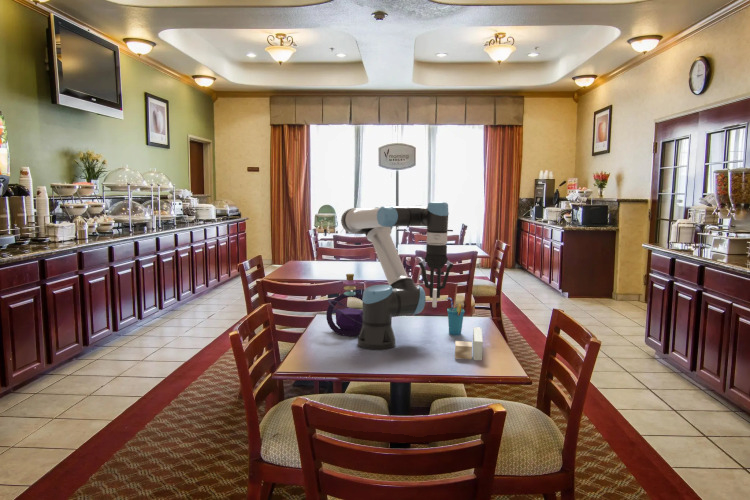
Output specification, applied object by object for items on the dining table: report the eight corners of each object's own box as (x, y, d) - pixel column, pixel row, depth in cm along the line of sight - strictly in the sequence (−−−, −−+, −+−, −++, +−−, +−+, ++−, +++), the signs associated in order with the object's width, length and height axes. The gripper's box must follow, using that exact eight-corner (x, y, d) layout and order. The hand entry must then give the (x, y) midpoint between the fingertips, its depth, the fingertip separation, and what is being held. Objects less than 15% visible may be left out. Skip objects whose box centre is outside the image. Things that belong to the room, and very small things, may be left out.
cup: (438, 329, 226) (439, 296, 224) (453, 328, 229) (454, 295, 227) (454, 338, 213) (455, 303, 212) (470, 336, 216) (471, 302, 214)
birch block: (454, 358, 188) (455, 345, 187) (455, 353, 194) (455, 340, 193) (471, 359, 187) (472, 346, 186) (471, 354, 193) (471, 341, 192)
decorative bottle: (316, 334, 216) (316, 275, 213) (335, 322, 236) (335, 269, 233) (365, 339, 209) (366, 279, 206) (381, 327, 229) (382, 272, 226)
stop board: (473, 359, 187) (474, 341, 186) (472, 343, 206) (473, 327, 205) (481, 360, 186) (482, 341, 185) (480, 344, 206) (481, 327, 205)
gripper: (418, 244, 185) (416, 307, 188) (454, 245, 182) (451, 309, 185) (420, 242, 192) (417, 303, 195) (454, 243, 190) (452, 305, 193)
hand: (434, 306), depth 190 cm, fingers closed
